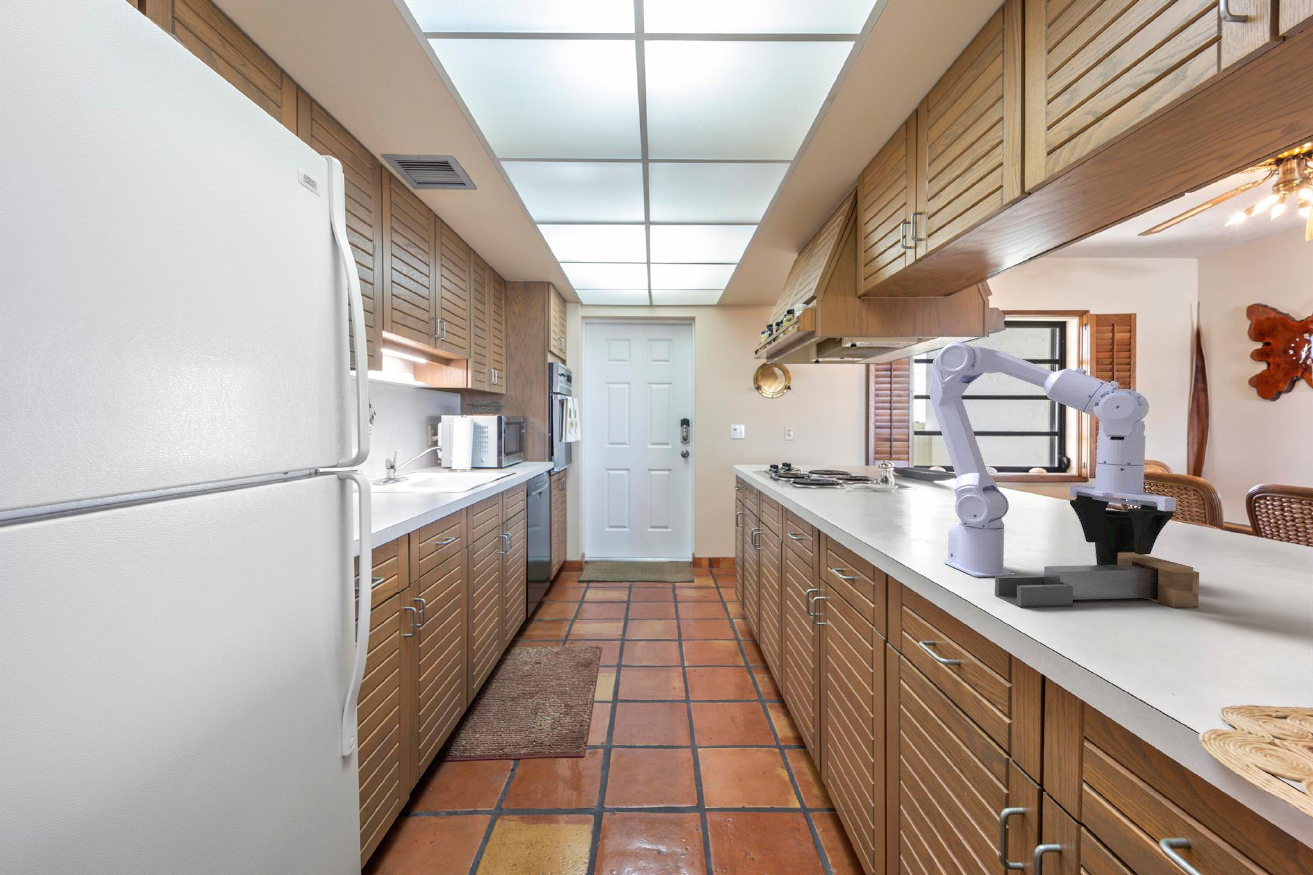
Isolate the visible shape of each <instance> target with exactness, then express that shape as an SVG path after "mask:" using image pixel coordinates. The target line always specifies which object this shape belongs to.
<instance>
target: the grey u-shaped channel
mask: <svg viewBox="0 0 1313 875" xmlns="http://www.w3.org/2000/svg"><path fill="white" fill-rule="evenodd" d="M994 577H995V578H994V596H995V597H997V598H999V599H1001V600H1004V601H1005V602H1007V603H1009V604H1011V605H1014V606H1016V607H1018V608H1020V609H1021V608H1022V609H1024V608H1027V609H1028V608H1058V607H1059V608H1063V607H1067V608H1068V607H1073V586H1071V585H1069V584H1062V585H1044V574H1042V575H1015V576H994Z"/></svg>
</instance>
